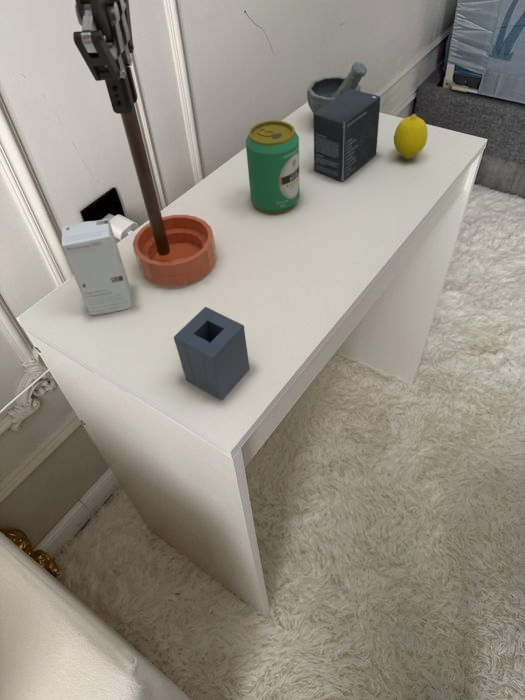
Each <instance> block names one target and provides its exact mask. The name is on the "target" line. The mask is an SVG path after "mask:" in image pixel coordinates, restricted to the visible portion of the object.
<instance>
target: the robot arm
mask: <svg viewBox="0 0 525 700" xmlns="http://www.w3.org/2000/svg"><path fill="white" fill-rule="evenodd" d="M129 1H130V0H75V5H74V10H75V14H76V18H77V21H78V24H79V25H80V27H81V31H79V30H78V31H73V33H72V38H73V39H72V40H73V42H74V44H75V45H74V46H76V48H77V50H78V52H79V53H80V55H81V57H82V59H83V60H84V62H85V64H86V67H87V68H88V69H89V71H90V73H91V75H92V77H93V78H94V80H95V81H96V82H100V81H104V82H105V87H106V91H107V93H108V94H107V95H108V96H109V100H110V101H109V102H110V104H111V108H112V111H113V112H114V113H115V114H119V115H121V114H122V113H131V112H132V110H133V102H132V98H131V94H130V90H129V86H128V82H127V78H126V76H125V75H126V72H127V76H128V80H129V85H130V89H131V93H132V97H133V101H134V104H136V103H137V100H138V93H137V89H136V85H135V84H136V83H135V80H134V76H133V72H132V68H131V67H132V65H133V57H132V56H131V54H134V50H135V46H134V40H133V32H132V31H133V30H132V21H131V10H130V2H129ZM122 58H123V60H124V64H125V68H126V72H125V69H124V65H123V60H122Z"/></svg>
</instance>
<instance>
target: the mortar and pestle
mask: <svg viewBox="0 0 525 700" xmlns="http://www.w3.org/2000/svg"><path fill="white" fill-rule="evenodd" d="M367 72H368V68H367V67H366V65H365V64H364V63H363V62H360V61H355V62H353V64H352V66H351V70H350V71H349V72H348V74H347V75H346V77H345V76H341V75H337V76H323V77H321V78H318V79H316V80H313V81H311V82H310V83H309V85H308V87H307V88H306V98H307V104H308V107H309V109H310V110H311V112H312V114H313V113H314V112H316V111H317V110H319V109H320V108H322V107H323V106H325V105H326V104H328V103H329V102H331V101H332V100H334V99H335V98H337V97H338V96H340V95H341V94H343V93H344V92H346V91H347V90H348V89H353V90H357V91H361V89H362V88H361V87H362V86H361V85H360V84H359V83H360V82H361V80H362V78H363V77H365V76H366V74H367Z"/></svg>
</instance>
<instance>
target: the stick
mask: <svg viewBox="0 0 525 700" xmlns="http://www.w3.org/2000/svg"><path fill="white" fill-rule="evenodd" d="M122 60H123V58H122ZM123 65H124V69H125V72H126V68H125V64H124V60H123ZM125 76H126V78H127V82H128V86H129V90H130V94H131V98H132V102H133V110H132V112H131V113H122V114H120V118H121V121H122V124H123V128H124V133H125V136H126V140H127V143H128V146H129V147H128V148H129V150H130V154H131V155H130V156H131V158H132V162H133V165H134V170H135V173H136V177H137V180H138V184H139V188H140V191H141V195H142V196H141V197H142V199H143V202H144V203H143V204H144V207H145V210H146V213H147V218H148V223H150V225H151V229H152V233H153V236H154V240H155V244H156V248H157V251H158V254H159V255H161V256H165V255H167V254H169V253H170V247H169V243H168V239H167V235H166V231H165V227H164V223H163V219H162V217H163V215H162V211H161V207H160V203H159V198H158V195H157V191H156V186H155V183H154V178H153V174H152V170H151V167H150V162H149V158H148V154H147V150H146V146H145V142H144V137H143V133H142V130H141V126H140V121H139V117H138V114H137V113H138V112H137V109H136V106H135V103H134V101H133V97H132V93H131V89H130V85H129V80H128V76H127V72H126V75H125Z"/></svg>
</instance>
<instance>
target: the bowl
mask: <svg viewBox="0 0 525 700" xmlns="http://www.w3.org/2000/svg"><path fill="white" fill-rule="evenodd" d="M162 219H163V223H164V227H165V231H166V235H167V239H168V243H169V247H170V253H169V254H167V255H165V256H161V255H159V254H158V251H157V248H156V244H155V240H154V236H153V233H152V229H151V225H150V222H148V223H147V224H145V225H144V226H142V227H141V228H140V230H138V232H137V233H136V234H135V236H134V239H133V242H132V248H133V253H134V256H135V258H136V261H137V265H138V268H139V271H140V273H141V275H142V276H143V277H144V278H145V279H146V280H147V281H149V282H151V283H152V284H155V285H160V286H163V287H180V286H184V285H188V284H192V283H195V282H197V281H198V280H200V279H202V278H203V277H205V276H207V274H208V273H210V272H211V271H212V269H213V267H214V266H215V264H216V261H217V249H216V243H215V238H214V232H213V229H212V227H211V225H209V223H208V222H207V221H206V220H204V219H201V218H200V217H198V216H194V215H188V214H173V215H172V214H171V215H167V216H162Z"/></svg>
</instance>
